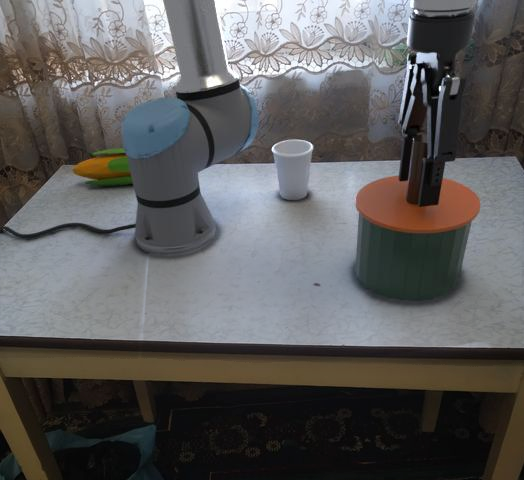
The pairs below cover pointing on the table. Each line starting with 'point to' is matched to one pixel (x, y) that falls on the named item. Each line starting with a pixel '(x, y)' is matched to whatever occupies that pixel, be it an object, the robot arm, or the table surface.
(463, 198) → the tin lid
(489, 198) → the table surface
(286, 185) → the dixie cup
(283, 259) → the table surface
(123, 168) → the corn
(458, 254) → the tin
